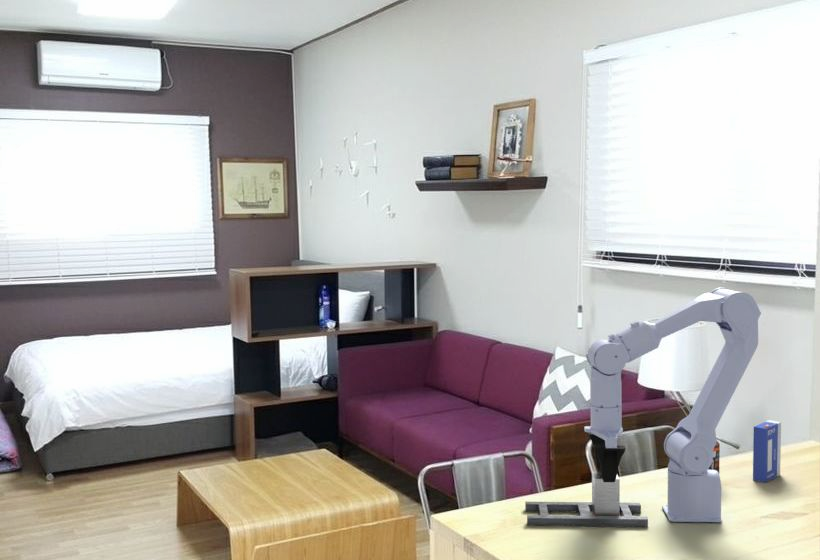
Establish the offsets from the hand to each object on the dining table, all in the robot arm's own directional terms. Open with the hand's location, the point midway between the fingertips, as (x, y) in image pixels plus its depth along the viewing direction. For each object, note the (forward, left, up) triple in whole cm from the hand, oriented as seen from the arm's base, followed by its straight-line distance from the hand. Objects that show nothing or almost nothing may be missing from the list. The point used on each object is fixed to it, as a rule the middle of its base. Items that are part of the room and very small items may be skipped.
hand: (606, 475), depth 165 cm
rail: (+4, 0, -8) cm, 9 cm away
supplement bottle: (-23, -22, -9) cm, 33 cm away
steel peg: (0, 0, -8) cm, 8 cm away
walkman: (-37, -26, -9) cm, 46 cm away
